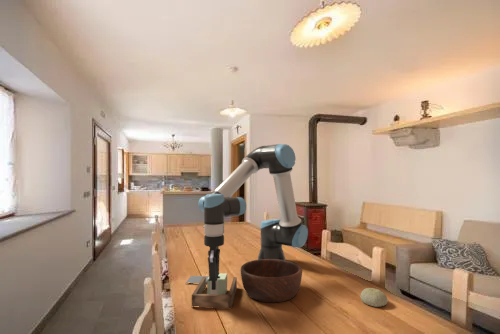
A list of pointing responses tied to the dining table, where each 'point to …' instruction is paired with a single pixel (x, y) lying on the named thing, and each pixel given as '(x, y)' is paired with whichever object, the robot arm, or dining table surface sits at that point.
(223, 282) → the sage block
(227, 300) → the walnut cubby
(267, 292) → the wooden bowl
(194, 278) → the slate mat
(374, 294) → the sea urchin shell
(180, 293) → the dining table surface
